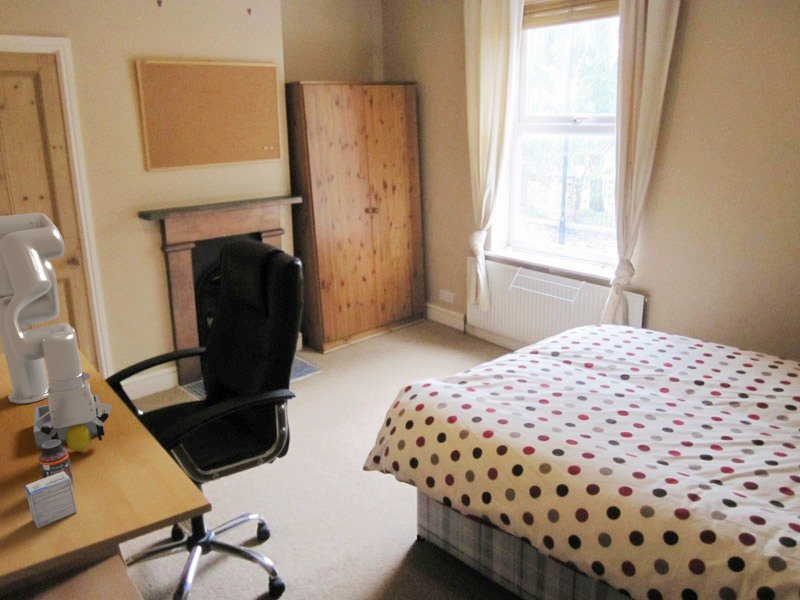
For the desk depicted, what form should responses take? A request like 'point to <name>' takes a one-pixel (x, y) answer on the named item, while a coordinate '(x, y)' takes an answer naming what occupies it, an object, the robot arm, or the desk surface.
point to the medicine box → (51, 499)
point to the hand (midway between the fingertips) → (79, 443)
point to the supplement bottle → (54, 459)
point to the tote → (43, 437)
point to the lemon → (78, 437)
